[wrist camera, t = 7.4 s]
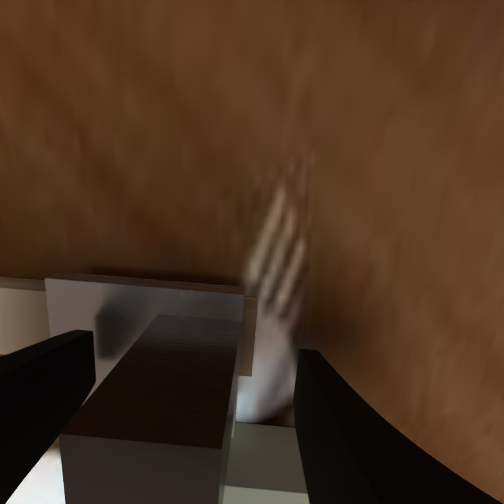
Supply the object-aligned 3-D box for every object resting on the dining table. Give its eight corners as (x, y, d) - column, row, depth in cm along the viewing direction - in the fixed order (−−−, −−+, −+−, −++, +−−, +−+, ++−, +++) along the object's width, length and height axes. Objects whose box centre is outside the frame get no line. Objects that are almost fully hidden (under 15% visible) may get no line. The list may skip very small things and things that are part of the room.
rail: (-131, 325, 13) (-168, 338, 12) (-147, 264, 13) (-188, 271, 11) (252, 359, 13) (251, 376, 12) (257, 297, 12) (257, 309, 11)
